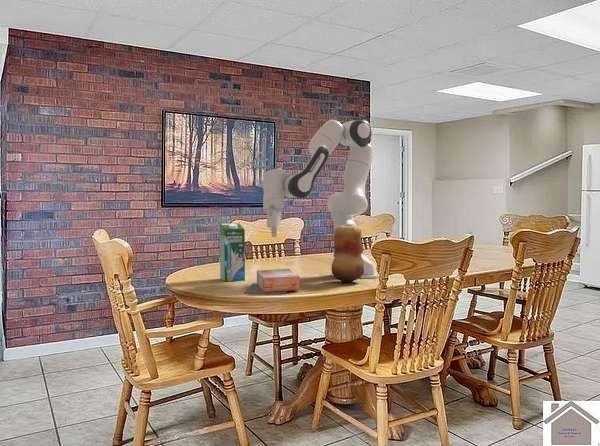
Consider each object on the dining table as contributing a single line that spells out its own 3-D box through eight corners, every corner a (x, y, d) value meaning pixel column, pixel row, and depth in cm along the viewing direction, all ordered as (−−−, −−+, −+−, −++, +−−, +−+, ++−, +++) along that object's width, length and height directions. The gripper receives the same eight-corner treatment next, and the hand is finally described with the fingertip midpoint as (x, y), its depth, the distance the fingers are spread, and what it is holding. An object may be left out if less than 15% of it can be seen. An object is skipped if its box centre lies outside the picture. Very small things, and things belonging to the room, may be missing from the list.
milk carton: (224, 281, 215) (224, 224, 214) (220, 278, 224) (219, 223, 222) (245, 280, 219) (244, 223, 217) (239, 277, 227) (239, 222, 226)
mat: (290, 284, 208) (290, 283, 208) (285, 293, 187) (285, 292, 187) (252, 284, 209) (252, 283, 209) (243, 293, 188) (243, 292, 188)
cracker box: (256, 284, 208) (263, 292, 187) (256, 270, 207) (263, 276, 187) (289, 282, 210) (300, 290, 190) (289, 268, 210) (299, 275, 190)
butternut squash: (332, 285, 206) (332, 225, 205) (330, 279, 219) (330, 223, 218) (365, 285, 206) (366, 224, 205) (362, 279, 219) (362, 223, 218)
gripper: (278, 205, 204) (278, 238, 204) (283, 204, 224) (283, 234, 225) (262, 205, 204) (263, 239, 205) (269, 204, 224) (269, 235, 225)
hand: (274, 236), depth 215 cm, fingers closed
